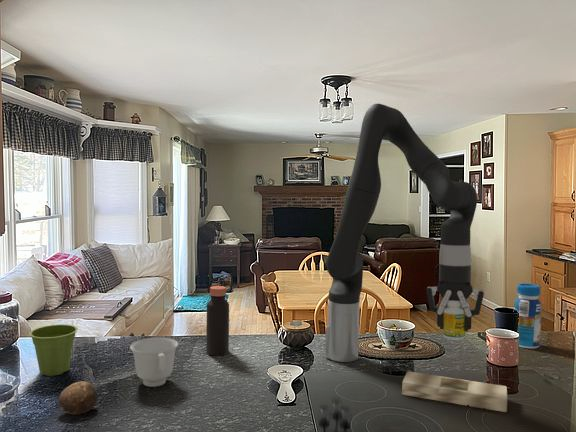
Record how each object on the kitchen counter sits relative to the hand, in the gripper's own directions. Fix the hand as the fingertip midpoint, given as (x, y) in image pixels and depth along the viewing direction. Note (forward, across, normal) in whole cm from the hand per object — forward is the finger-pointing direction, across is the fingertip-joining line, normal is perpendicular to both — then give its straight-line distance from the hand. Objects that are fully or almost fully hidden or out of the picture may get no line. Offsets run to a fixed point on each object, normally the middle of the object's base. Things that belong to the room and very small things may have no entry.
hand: (454, 329), depth 128 cm
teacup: (+15, -71, -24) cm, 77 cm away
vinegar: (+15, -69, +4) cm, 70 cm away
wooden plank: (+16, 0, -2) cm, 16 cm away
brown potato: (+15, -79, -43) cm, 91 cm away
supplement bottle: (+2, 0, 0) cm, 2 cm away
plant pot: (+14, -102, -28) cm, 106 cm away
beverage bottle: (+17, +20, +50) cm, 57 cm away
